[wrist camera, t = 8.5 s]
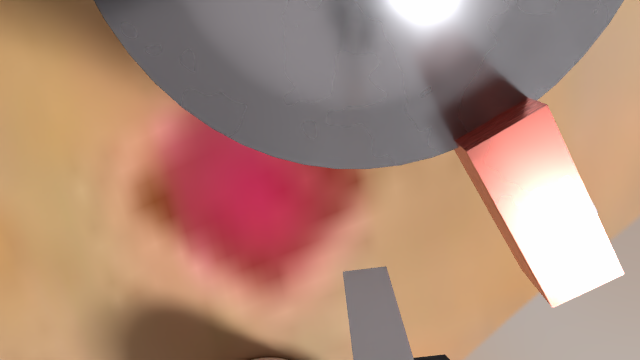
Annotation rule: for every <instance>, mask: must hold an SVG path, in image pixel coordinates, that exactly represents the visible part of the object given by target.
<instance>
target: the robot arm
mask: <svg viewBox="0 0 640 360" xmlns="http://www.w3.org/2000/svg"><path fill="white" fill-rule="evenodd" d="M343 277H344V285H345V293H346V302H347V310H348V318H349V326H350V334H351V342H352V351H353V359H354V360H450V359H449V358H448V357H447V356H446V355H436V356H427V357H419V358H413V355H412V352H411V349H410V345H409V342H408V339H407V335H406V332H405V328H404V325H403V322H402V318H401V315H400V312H399V308H398V305H397V301H396V298H395V295H394V291H393V288H392V285H391V281H390V278H389V274H388V271H387V268H386V267H378V268H370V269H361V270H353V271H345V272H343Z"/></svg>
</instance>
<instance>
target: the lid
mask: <svg viewBox="0 0 640 360" xmlns="http://www.w3.org/2000/svg"><path fill="white" fill-rule="evenodd" d="M94 1H95V3H96V5H97V7H98V8H99V10H100V12H101V14H102V16H103V17H104V19H105V21H106V22H107V24H108V25H109V26H110V28H111V29H112V31H113V32H114V34H115V35H116V36H117V38H118V39H119V41H120V42H121V43H122V45H123V46H124V48H125V49H126V50H127V52H128V53H129V54H130V56H131V57H132V58H133V59H134V60H135V61H136V62H137V63H138V65H139V66H140V67H141V68H142V69H143V70H144V71H145V72H146V74H147V75H148V76H149V77H150V78H151V79H152V80H153V81H154V82H155V83H156V84H157V85H158V86H159V87H160V88H161V89H162V90H163V91H165V92H166V93H167V94H168V95H169V96H170V97H171V98H172V99H173V100H175V101H176V102H177V103H178V104H179V105H180V106H181V107H182V108H184V109H185V110H187V111H188V112H190V113H191V114H192V115H194V116H195V117H197V118H198V119H199V120H201V121H202V122H204V123H205V124H207V125H208V126H209V127H211V128H212V129H214V130H216V131H218V132H220V133H222V134H224V135H225V136H227V137H229V138H231V139H233V140H235V141H236V142H238V143H240V144H242V145H245V146H247V147H250V148H252V149H255V150H257V151H260V152H263V153H265V154H268V155H270V156H273V157H277V158H281V159H285V160H288V161H292V162H296V163H300V164H304V165H312V166H319V167H327V168H335V169H371V168H380V167H388V166H397V165H403V164H407V163H411V162H415V161H419V160H423V159H427V158H432V157H435V156H437V155H440V154H443V153H445V152H448V151H451V150H453V149H454V150H455V152H456V154H457V155H458V157H459V159H460V161H461V163H462V164H463V166H464V168H465V170H466V171H467V173H468V175H469V177H470V179H471V180H472V182H473V184H474V186H475V187H476V189H477V191H478V193H479V195H480V196H481V198H482V200H483V202H484V204H485V205H486V207H487V209H488V211H489V212H490V214H491V216H492V218H493V220H494V221H495V223H496V225H497V227H498V228H499V230H500V232H501V234H502V236H503V237H504V239H505V241H506V243H507V244H508V246H509V248H510V250H511V252H512V253H513V255H514V257H515V259H516V260H517V262H518V264H519V266H520V268H521V269H522V271H523V272H524V273H525V274H526V276H527V277H528V278H529V279H530V281H531V282H532V283H533V284H534V285H535V287H536V288H537V289H538V290H539V292H540V293H541V294H542V295H543V296H544V298H545V299H546V300H547V302H548V303H549V304H550V305H551V307H552V308H553V307H555V306H557V305H559V304H562V303H564V302H566V301H568V300H570V299H572V298H574V297H576V296H578V295H580V294H583V293H585V292H587V291H589V290H591V289H593V288H595V287H598V286H600V285H602V284H604V283H606V282H608V281H610V280H612V279H615V278H617V277H619V276H621V275H623V274H624V272H623V270H622V268H621V266H620V264H619V261H618V259H617V257H616V255H615V253H614V250H613V248H612V246H611V244H610V242H609V239H608V237H607V235H606V233H605V231H604V228H603V226H602V224H601V222H600V220H599V217H598V215H597V213H596V211H595V209H594V206H593V204H592V202H591V200H590V198H589V195H588V193H587V191H586V189H585V187H584V184H583V182H582V180H581V178H580V176H579V173H578V171H577V169H576V167H575V165H574V162H573V160H572V158H571V156H570V154H569V151H568V149H567V147H566V145H565V143H564V140H563V138H562V136H561V134H560V132H559V129H558V127H557V125H556V123H555V121H554V118H553V116H552V114H551V112H550V110H549V107H548V105H546V104H544V103H541V102H538V101H537V100H538V99H539V98H540V97H542V96H543V95H544V94H545V93H546V92H548V91H549V90H550V89H551V88H552V87H554V86H555V85H556V84H557V83H558V82H559V81H560V80H561V79H562V78H563V77H564V76H565V75H566V74H567V72H568V71H569V70H570V69H571V68H572V67H573V66H574V65H575V64H576V63H577V62H578V61H579V60H580V59H581V58H582V57H583V56H584V55H585V53H586V52H587V51H588V50H589V48H590V47H591V46H592V45H593V43H594V42H595V41H596V39H597V38H598V37H599V36H600V34H601V33H602V32H603V31H604V29H605V28H606V27H607V26H608V24H609V23H610V21H611V20H612V18H613V17H614V15H615V13H616V12H617V10H618V9H619V7H620V6H621V4H622V2H623V1H624V0H94Z"/></svg>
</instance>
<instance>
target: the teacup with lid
mask: <svg viewBox="0 0 640 360" xmlns="http://www.w3.org/2000/svg"><path fill="white" fill-rule="evenodd" d="M253 360H286V359H282V358H271V357H267V358H257V359H253Z"/></svg>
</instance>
